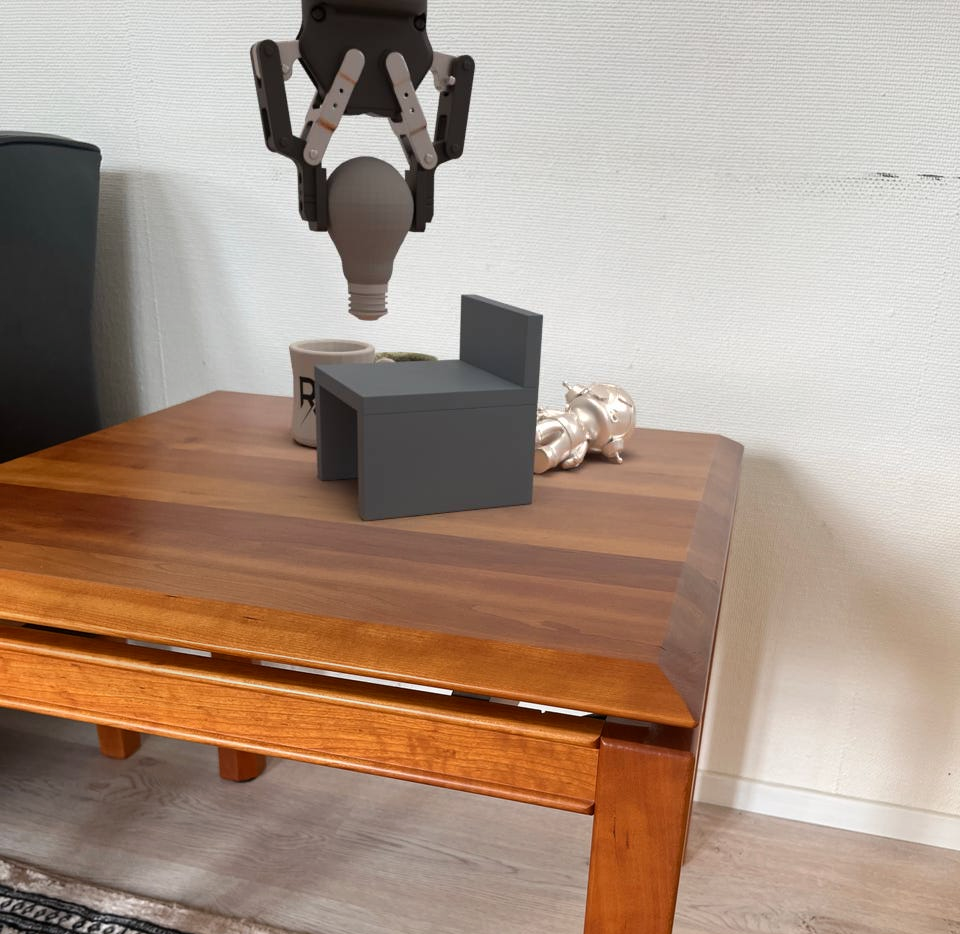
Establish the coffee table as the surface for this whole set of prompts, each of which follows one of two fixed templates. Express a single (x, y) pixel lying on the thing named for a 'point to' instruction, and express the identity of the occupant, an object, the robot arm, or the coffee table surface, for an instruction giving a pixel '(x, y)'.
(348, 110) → the robot arm
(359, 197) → the light bulb
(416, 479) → the grey toy chair
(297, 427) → the mug
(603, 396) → the figurine
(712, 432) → the coffee table surface
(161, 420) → the coffee table surface
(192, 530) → the coffee table surface
